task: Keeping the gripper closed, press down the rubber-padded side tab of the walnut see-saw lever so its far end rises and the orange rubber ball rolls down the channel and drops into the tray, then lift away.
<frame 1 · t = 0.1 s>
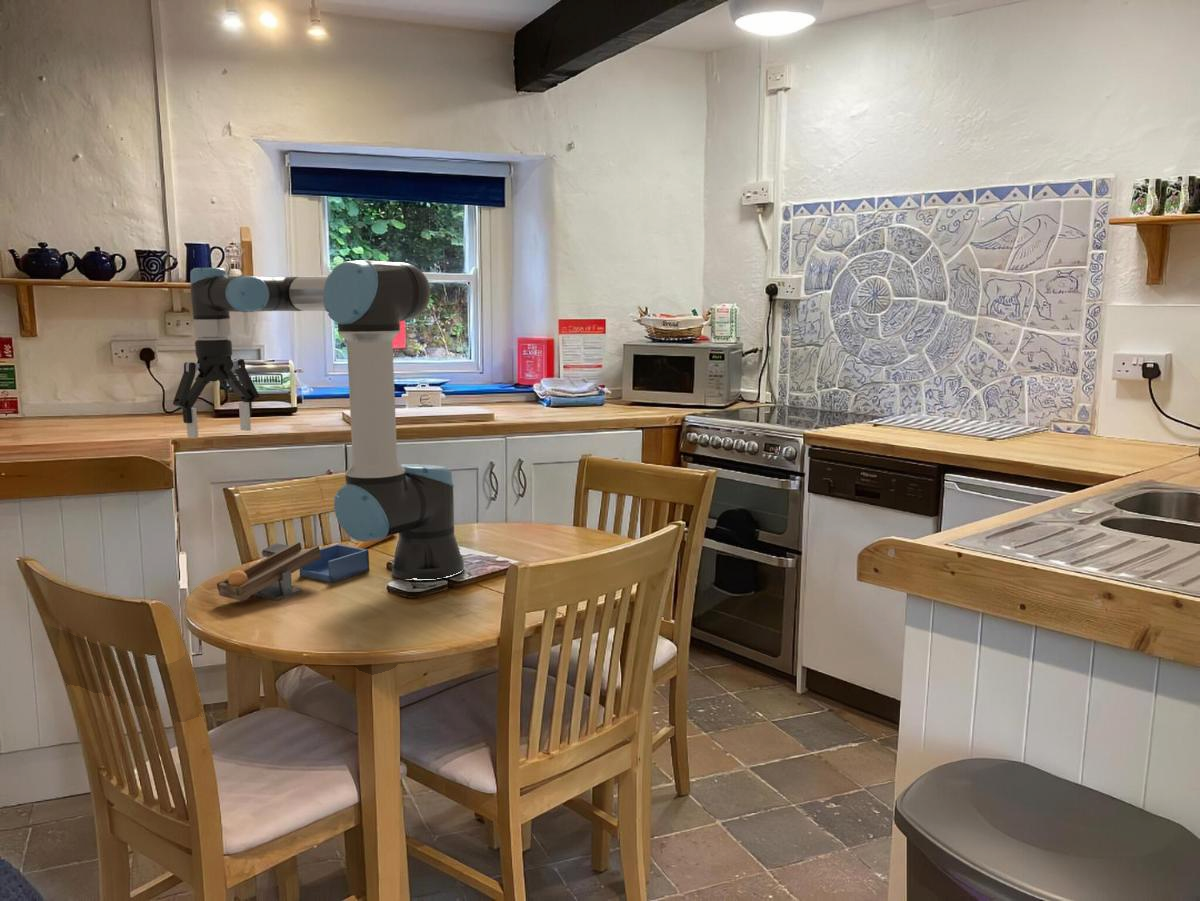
hand: (220, 434, 212), 28 cm above the table, fingers open, 13 cm apart
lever: (259, 567, 189), point 5 cm above the table, hinge at -11.0°, touching ball
ball: (237, 579, 181), point 5 cm above the table, tilted 16°, touching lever
stand: (272, 592, 188), on the table
tray: (334, 573, 201), on the table
carrot: (369, 545, 225), on the table
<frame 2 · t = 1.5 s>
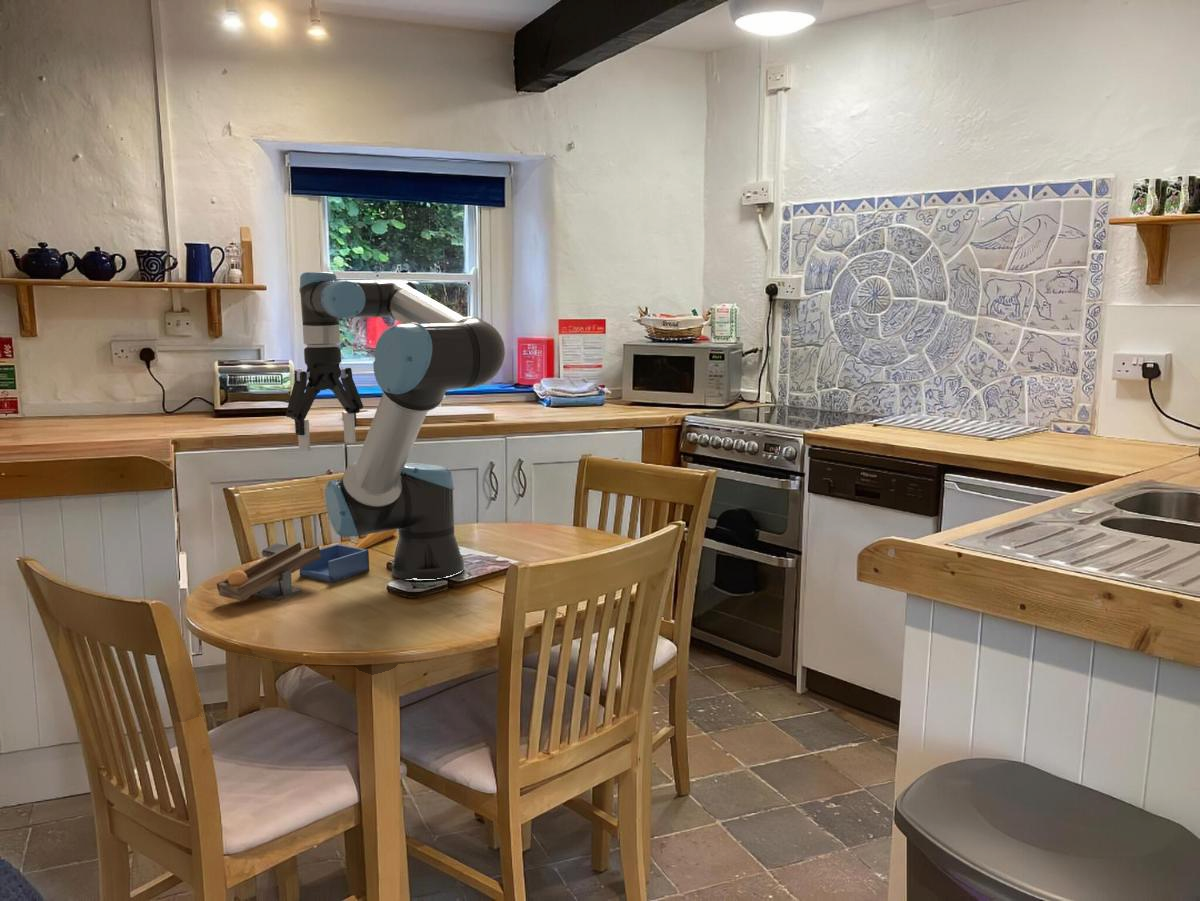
hand: (328, 446, 204), 26 cm above the table, fingers open, 12 cm apart
nothing on the table moved.
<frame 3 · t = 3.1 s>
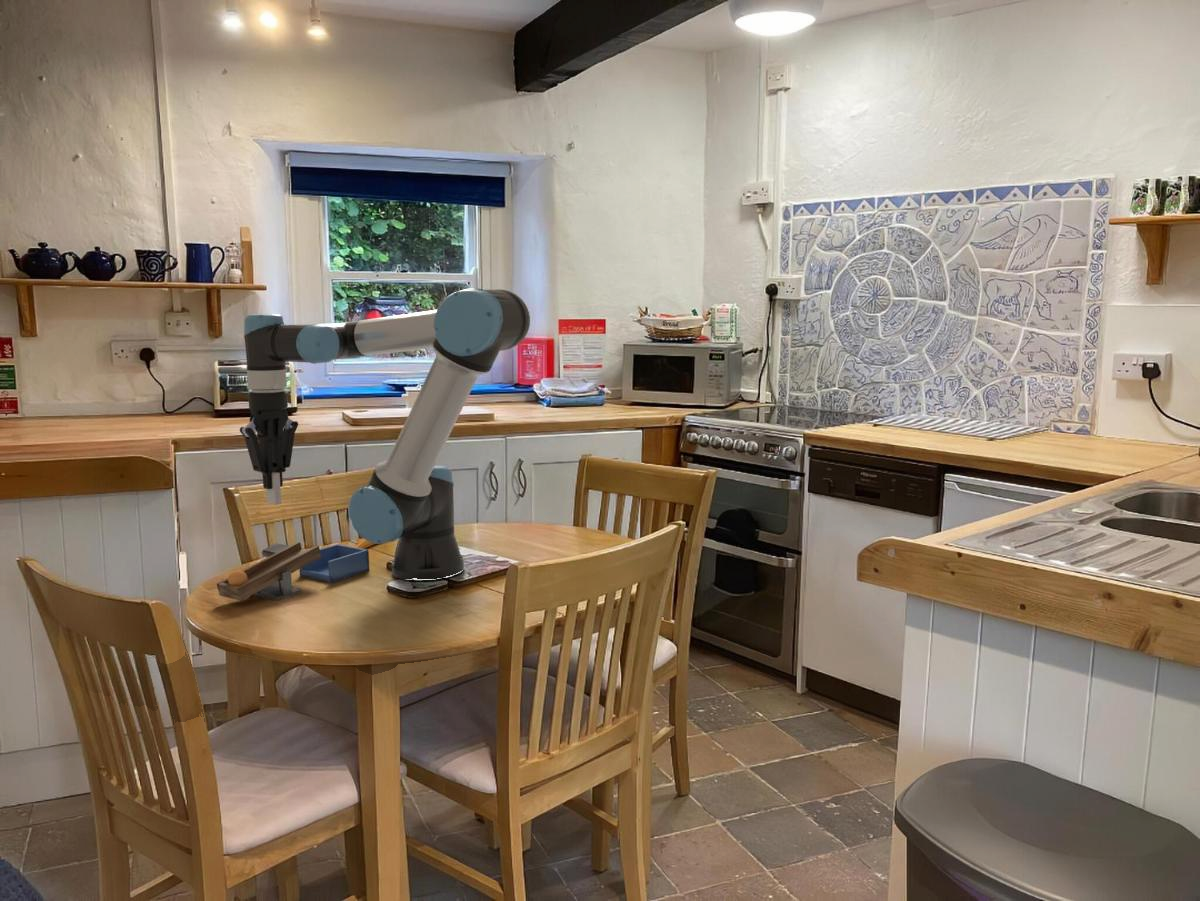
hand: (274, 503, 197), 16 cm above the table, fingers closed
nothing on the table moved.
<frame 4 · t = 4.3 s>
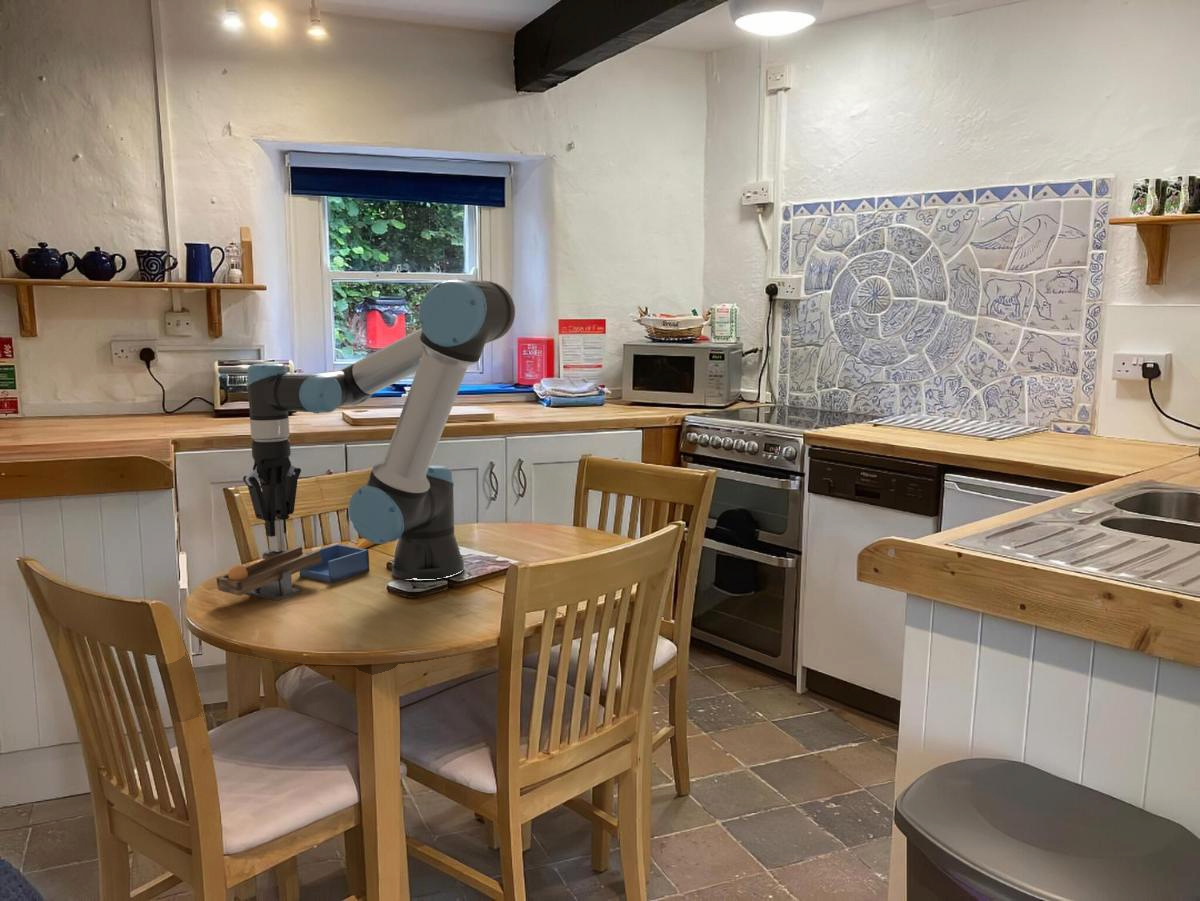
hand: (277, 549, 198), 6 cm above the table, fingers closed
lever: (259, 567, 189), point 5 cm above the table, hinge at -4.7°, touching ball, gripper
ball: (238, 574, 181), point 6 cm above the table, tilted 10°, touching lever
everything else where it was.
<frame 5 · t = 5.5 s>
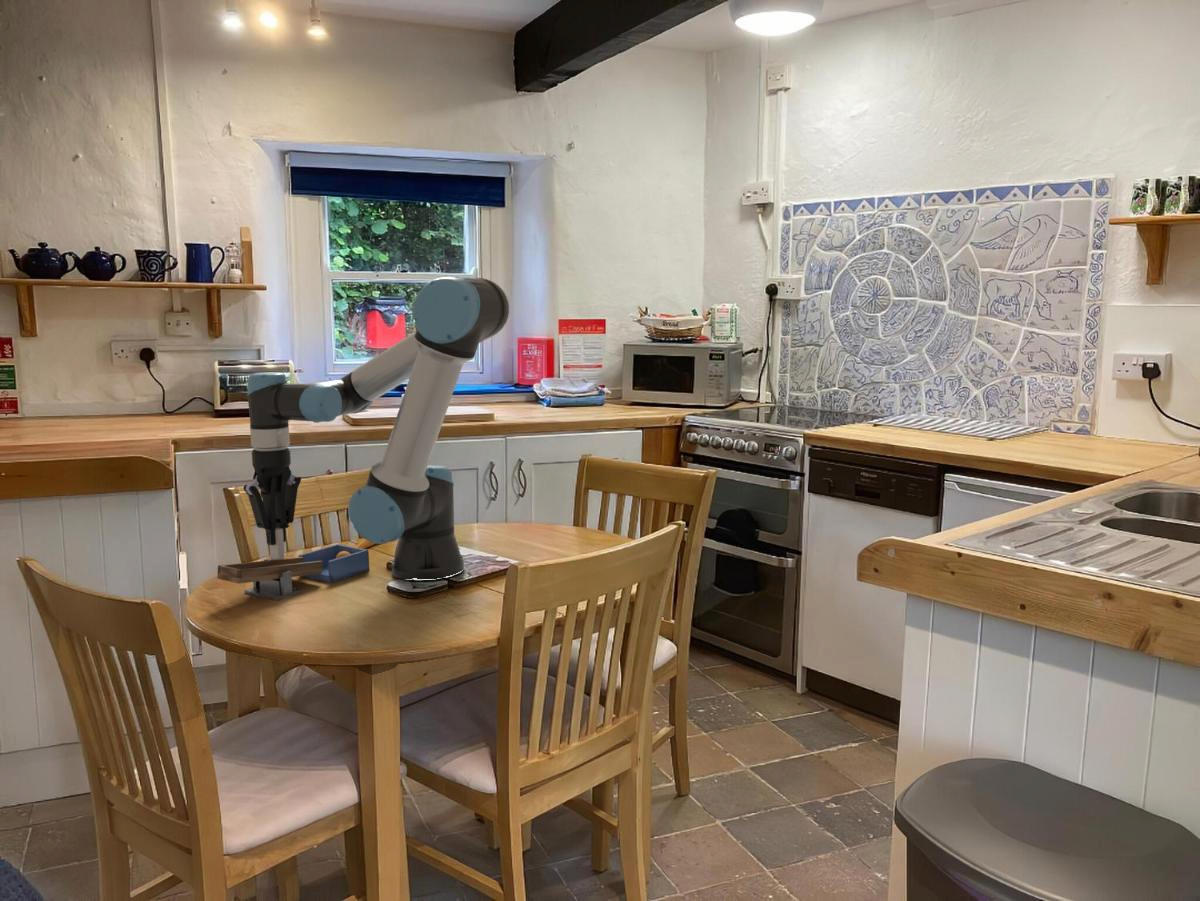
hand: (277, 558, 198), 4 cm above the table, fingers closed
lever: (260, 566, 189), point 5 cm above the table, hinge at 8.7°, touching gripper
ball: (344, 559, 203), point 2 cm above the table, tilted 177°, touching tray
everything else where it was.
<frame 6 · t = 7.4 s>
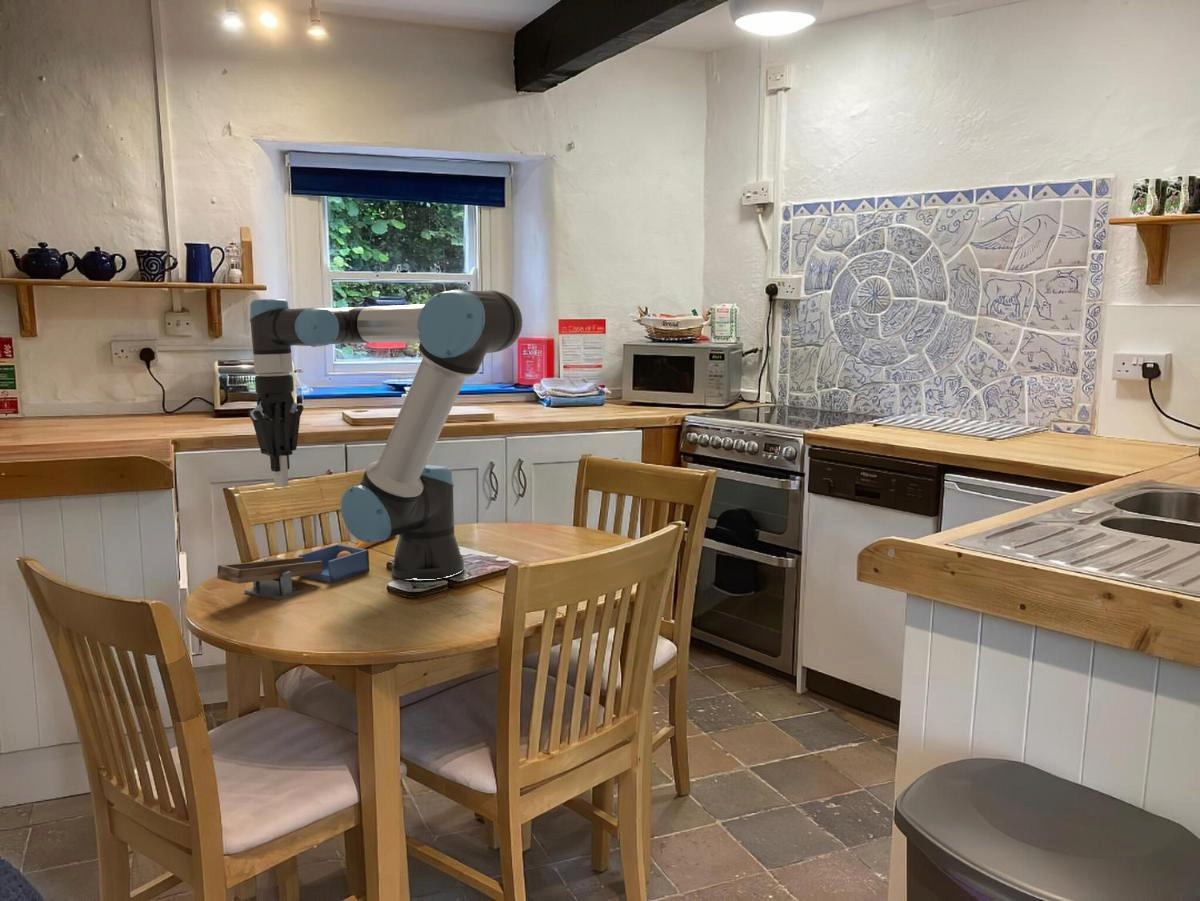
hand: (281, 485, 200), 19 cm above the table, fingers closed
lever: (260, 566, 189), point 5 cm above the table, hinge at 8.7°
everything else where it was.
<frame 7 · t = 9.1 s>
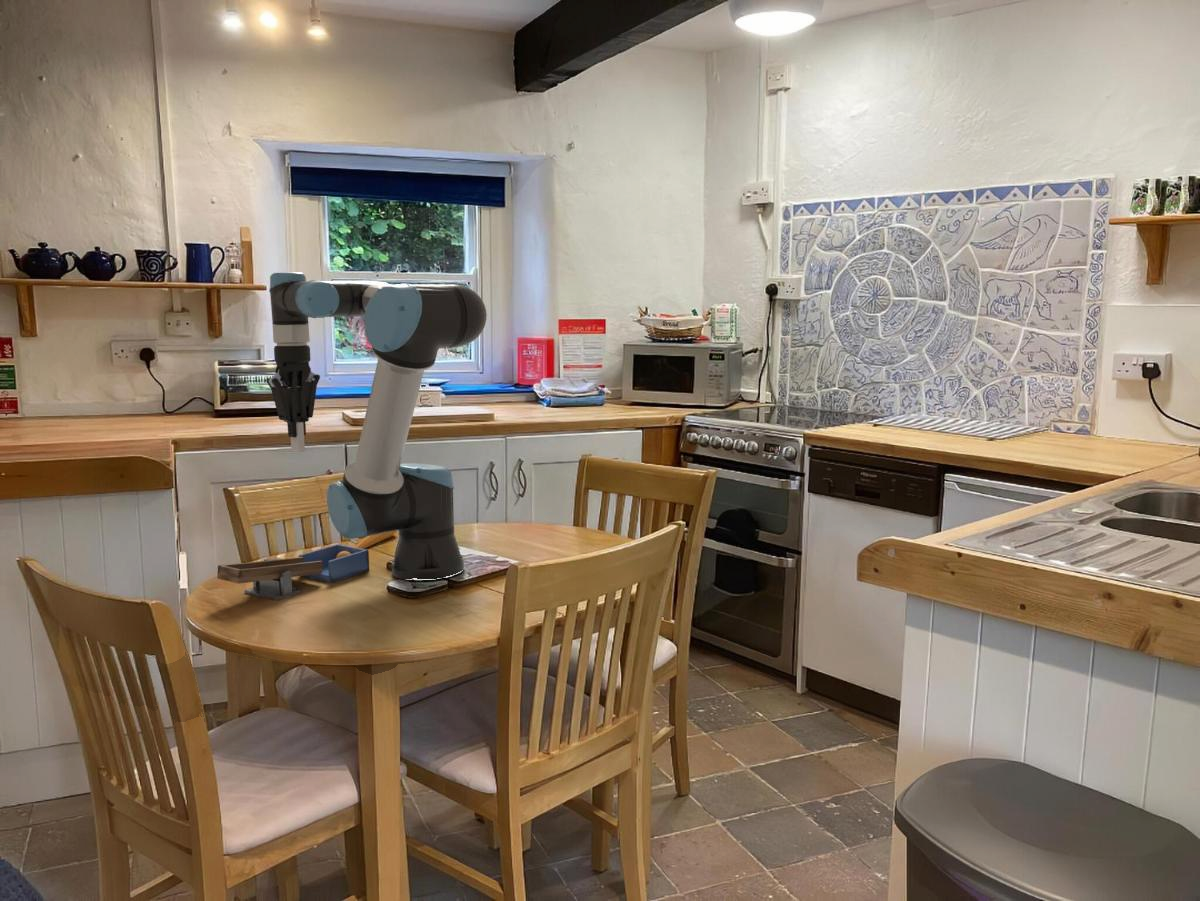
hand: (298, 451, 210), 24 cm above the table, fingers closed
nothing on the table moved.
at the end: ball inside the target area on the tray (2.8 cm from its centre), point 2.3 cm above the tray's base; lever at +9° (first picture: -11°) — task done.
